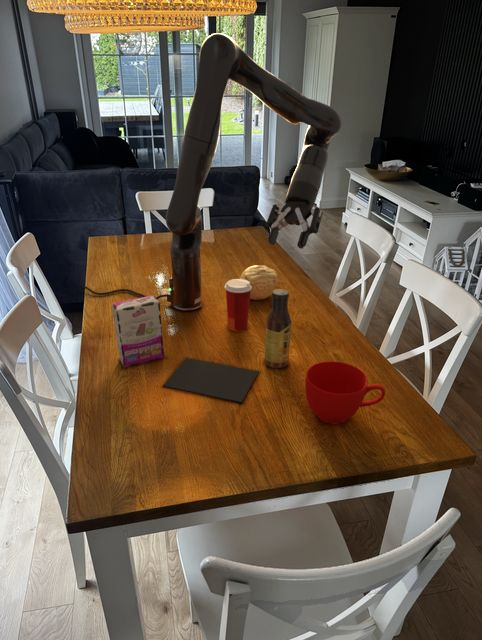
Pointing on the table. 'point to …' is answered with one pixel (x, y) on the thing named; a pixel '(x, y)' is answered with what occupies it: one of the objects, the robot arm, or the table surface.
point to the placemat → (212, 380)
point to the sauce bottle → (278, 331)
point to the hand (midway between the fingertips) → (285, 245)
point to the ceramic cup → (337, 391)
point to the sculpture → (260, 281)
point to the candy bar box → (138, 330)
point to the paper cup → (237, 303)
